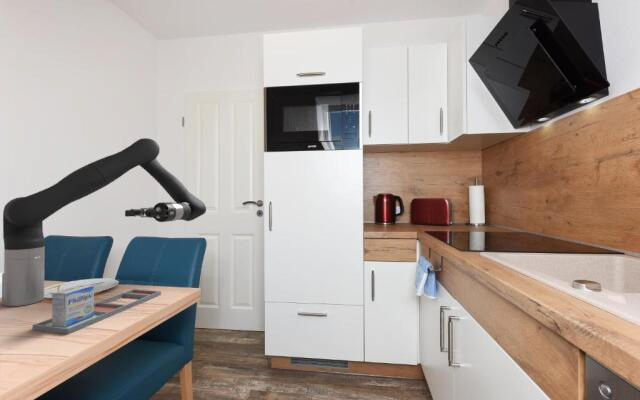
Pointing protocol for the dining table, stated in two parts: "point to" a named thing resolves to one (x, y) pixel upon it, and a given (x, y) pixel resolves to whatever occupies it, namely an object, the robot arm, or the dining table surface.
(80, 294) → the medicine box
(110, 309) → the tray
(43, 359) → the dining table surface
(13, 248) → the robot arm
